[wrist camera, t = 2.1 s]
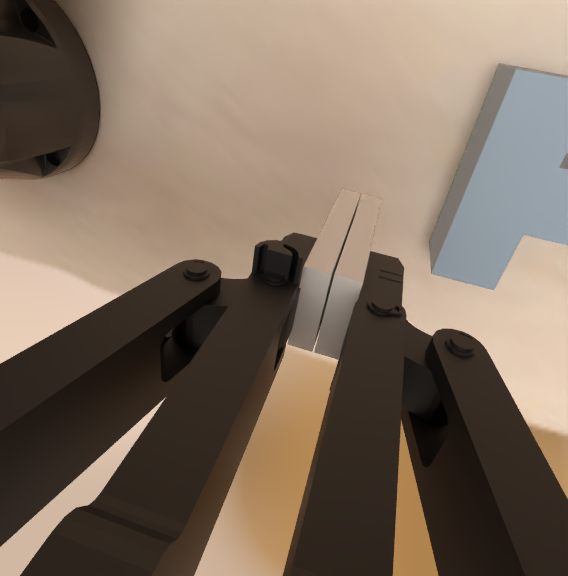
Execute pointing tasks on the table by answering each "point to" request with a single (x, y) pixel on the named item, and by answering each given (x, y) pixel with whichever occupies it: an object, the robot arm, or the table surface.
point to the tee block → (507, 178)
